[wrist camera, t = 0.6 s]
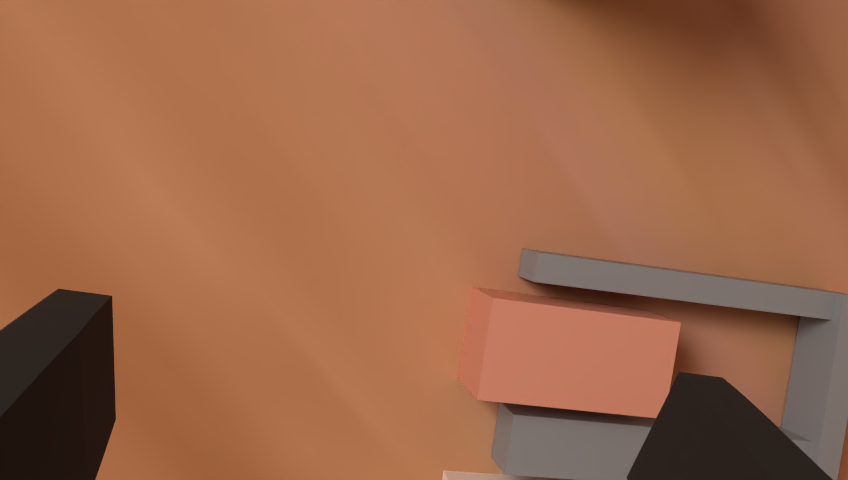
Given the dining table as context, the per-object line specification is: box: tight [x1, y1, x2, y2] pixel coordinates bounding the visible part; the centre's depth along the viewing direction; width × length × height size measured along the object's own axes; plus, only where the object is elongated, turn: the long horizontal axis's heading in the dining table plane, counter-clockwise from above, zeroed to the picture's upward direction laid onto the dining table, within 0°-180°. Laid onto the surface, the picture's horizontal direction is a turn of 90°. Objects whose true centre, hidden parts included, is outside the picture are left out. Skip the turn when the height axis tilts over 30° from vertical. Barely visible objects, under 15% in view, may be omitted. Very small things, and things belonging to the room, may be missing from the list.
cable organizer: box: [491, 249, 848, 480], centre depth 32 cm, size 16×15×2 cm
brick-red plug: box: [457, 287, 681, 418], centre depth 31 cm, size 4×8×4 cm, turn 81°
